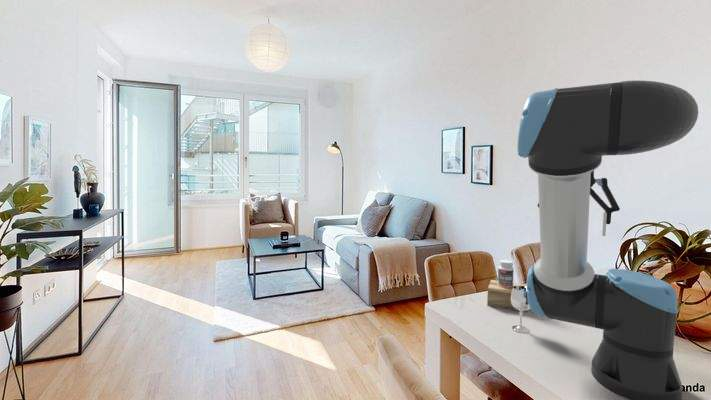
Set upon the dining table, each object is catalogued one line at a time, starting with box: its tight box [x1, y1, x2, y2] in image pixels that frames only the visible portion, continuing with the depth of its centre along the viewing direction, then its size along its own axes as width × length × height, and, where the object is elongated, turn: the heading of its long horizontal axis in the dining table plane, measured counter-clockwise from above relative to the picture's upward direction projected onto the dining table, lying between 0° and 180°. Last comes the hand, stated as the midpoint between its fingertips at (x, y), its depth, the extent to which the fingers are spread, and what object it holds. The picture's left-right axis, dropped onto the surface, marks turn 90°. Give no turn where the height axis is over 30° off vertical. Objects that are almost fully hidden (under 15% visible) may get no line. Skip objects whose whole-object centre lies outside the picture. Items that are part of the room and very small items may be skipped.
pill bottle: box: [497, 259, 515, 288], centre depth 118 cm, size 5×5×8 cm
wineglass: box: [511, 286, 531, 334], centre depth 99 cm, size 6×6×12 cm
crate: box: [486, 289, 528, 313], centre depth 118 cm, size 10×12×5 cm
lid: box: [487, 279, 527, 293], centre depth 118 cm, size 10×12×1 cm
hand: (575, 233), depth 103 cm, fingers open, 13 cm apart
